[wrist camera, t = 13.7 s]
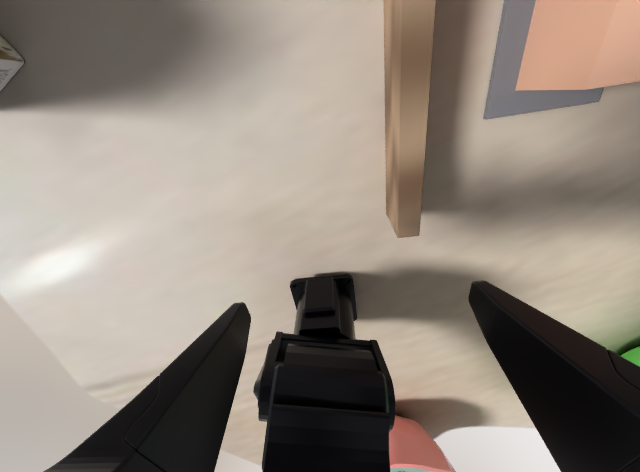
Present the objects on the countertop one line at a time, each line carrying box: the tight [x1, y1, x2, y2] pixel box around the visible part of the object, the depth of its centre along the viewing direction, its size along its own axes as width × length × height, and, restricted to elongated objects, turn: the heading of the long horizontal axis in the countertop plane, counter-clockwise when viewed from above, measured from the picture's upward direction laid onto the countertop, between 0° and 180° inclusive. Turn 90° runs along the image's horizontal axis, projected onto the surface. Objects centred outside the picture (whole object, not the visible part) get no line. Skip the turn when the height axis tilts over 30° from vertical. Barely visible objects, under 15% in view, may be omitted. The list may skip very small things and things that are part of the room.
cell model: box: [389, 415, 456, 472], centre depth 36 cm, size 17×20×11 cm
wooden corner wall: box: [384, 0, 436, 238], centre depth 12 cm, size 22×22×4 cm
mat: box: [483, 0, 604, 119], centre depth 14 cm, size 10×7×1 cm
